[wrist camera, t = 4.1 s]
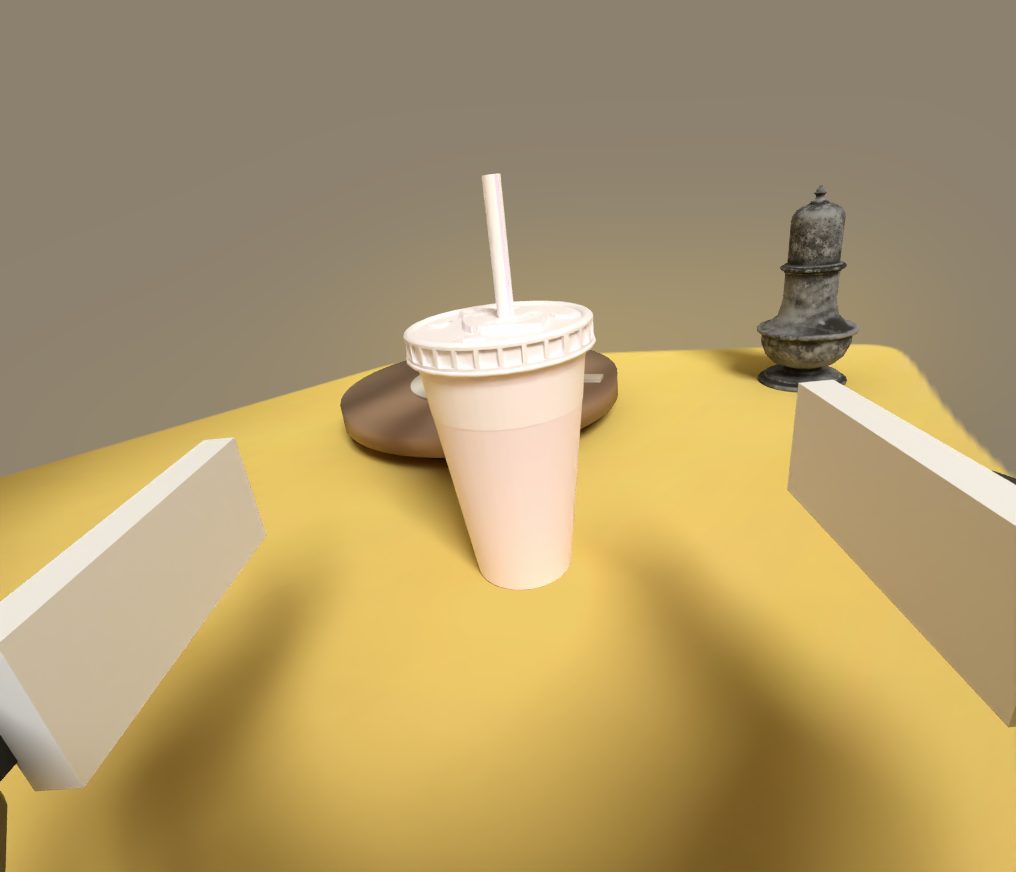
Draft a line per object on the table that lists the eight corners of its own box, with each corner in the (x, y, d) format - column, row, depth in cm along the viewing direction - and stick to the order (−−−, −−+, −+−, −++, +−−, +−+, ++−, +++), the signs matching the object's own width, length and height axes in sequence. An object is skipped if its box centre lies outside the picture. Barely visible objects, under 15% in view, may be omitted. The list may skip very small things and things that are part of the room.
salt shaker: (758, 364, 41) (771, 188, 37) (851, 368, 38) (878, 177, 34) (748, 390, 37) (761, 192, 32) (852, 396, 34) (884, 180, 29)
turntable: (284, 448, 33) (277, 423, 32) (426, 359, 48) (423, 341, 48) (581, 468, 27) (580, 437, 26) (637, 359, 42) (636, 338, 41)
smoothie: (501, 643, 18) (434, 175, 13) (418, 556, 23) (343, 193, 18) (640, 563, 21) (635, 157, 16) (540, 501, 26) (509, 177, 21)
